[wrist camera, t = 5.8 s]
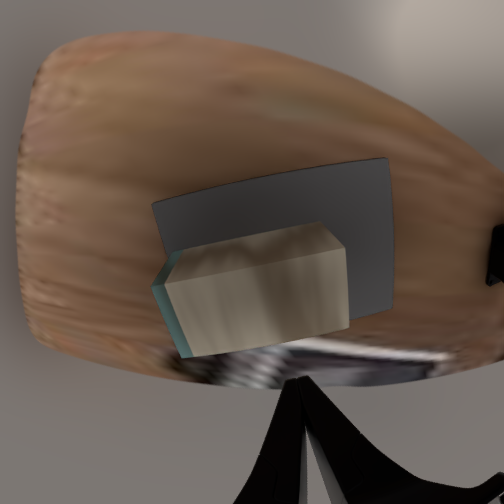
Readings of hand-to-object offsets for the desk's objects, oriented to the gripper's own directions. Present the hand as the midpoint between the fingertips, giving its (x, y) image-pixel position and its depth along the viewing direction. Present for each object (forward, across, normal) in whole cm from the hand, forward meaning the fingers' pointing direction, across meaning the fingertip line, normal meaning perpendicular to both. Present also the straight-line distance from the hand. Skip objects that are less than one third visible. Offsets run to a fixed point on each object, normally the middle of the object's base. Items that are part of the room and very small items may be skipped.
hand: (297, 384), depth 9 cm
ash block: (+8, -4, 0) cm, 9 cm away
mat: (+11, -1, 0) cm, 11 cm away
